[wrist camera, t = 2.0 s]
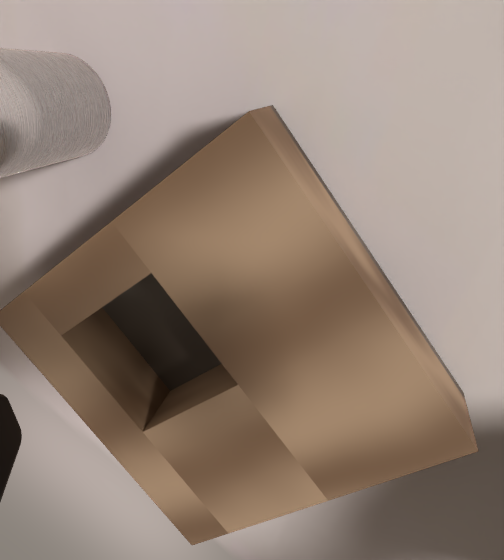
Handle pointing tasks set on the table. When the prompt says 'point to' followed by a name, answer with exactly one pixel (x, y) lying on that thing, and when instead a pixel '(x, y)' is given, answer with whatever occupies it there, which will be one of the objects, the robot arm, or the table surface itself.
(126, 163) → the table surface
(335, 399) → the pocket board
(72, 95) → the aluminium peg
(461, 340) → the table surface
